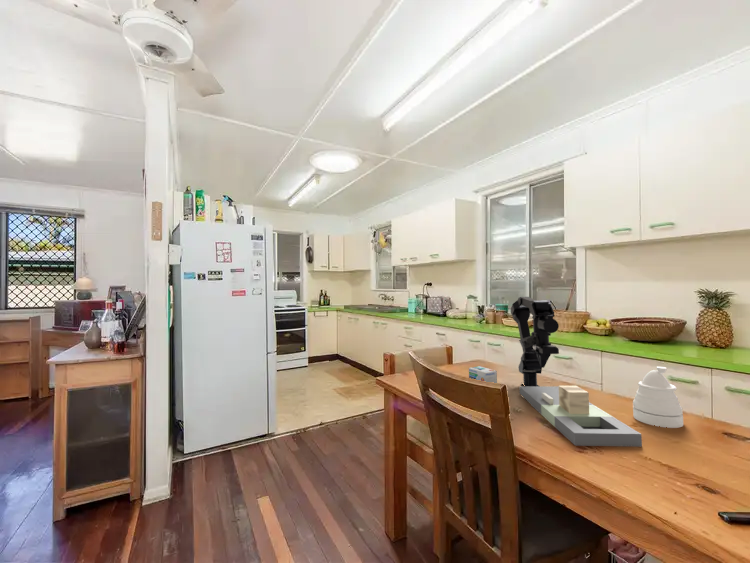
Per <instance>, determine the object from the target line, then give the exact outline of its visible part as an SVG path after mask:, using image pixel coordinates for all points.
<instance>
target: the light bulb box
mask: <svg viewBox="0 0 750 563" xmlns="http://www.w3.org/2000/svg"><path fill="white" fill-rule="evenodd" d="M469 378H471V379H476V380H481V381H486V382H494V383H497V384H498V372H497V370H495V369H491V368H488V367H483V366H480V365H479V366H473V367H468V379H469Z"/></svg>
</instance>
